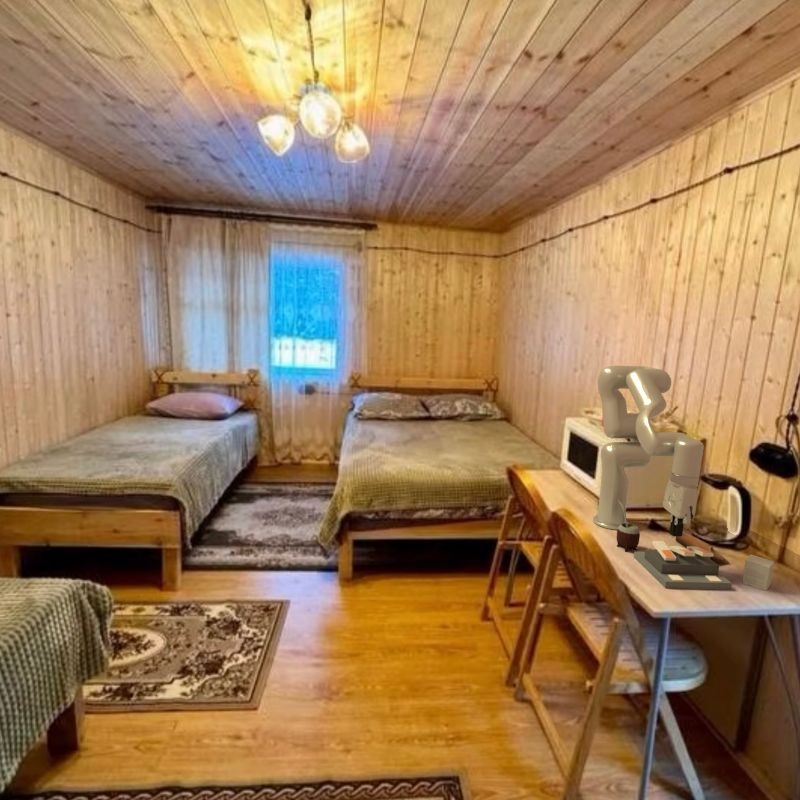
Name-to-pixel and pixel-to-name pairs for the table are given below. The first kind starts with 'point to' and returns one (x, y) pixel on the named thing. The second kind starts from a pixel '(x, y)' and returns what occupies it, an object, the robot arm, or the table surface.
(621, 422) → the robot arm
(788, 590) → the table surface
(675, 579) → the switch panel
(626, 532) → the mate gourd
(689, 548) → the rocker
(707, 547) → the sunglasses case
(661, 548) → the block
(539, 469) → the table surface
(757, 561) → the product box
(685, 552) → the rocker middle
